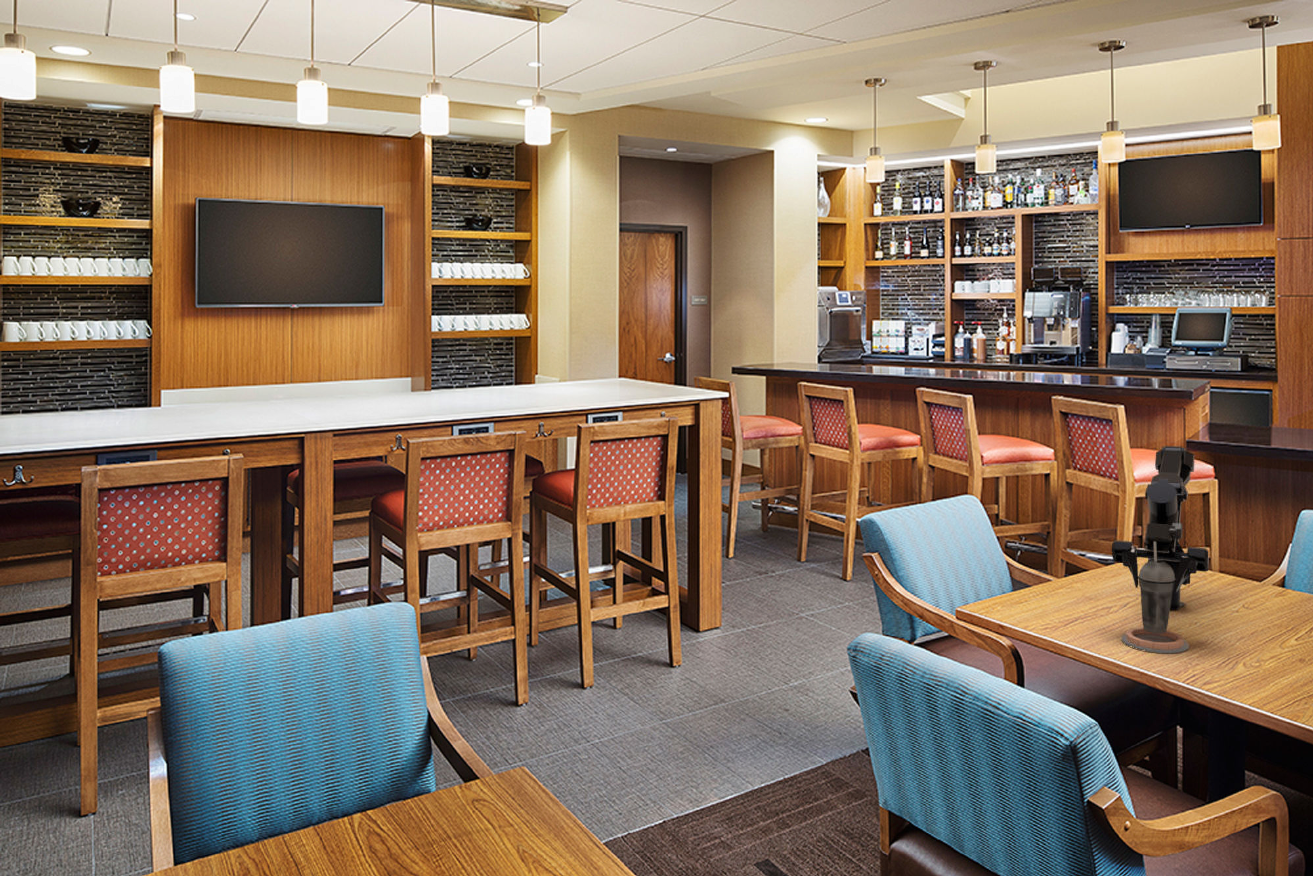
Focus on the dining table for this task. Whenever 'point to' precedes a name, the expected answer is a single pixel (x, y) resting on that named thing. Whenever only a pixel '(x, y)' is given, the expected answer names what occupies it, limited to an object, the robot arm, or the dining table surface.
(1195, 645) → the dining table surface
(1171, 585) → the beverage cup
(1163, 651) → the cup holder
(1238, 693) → the dining table surface
